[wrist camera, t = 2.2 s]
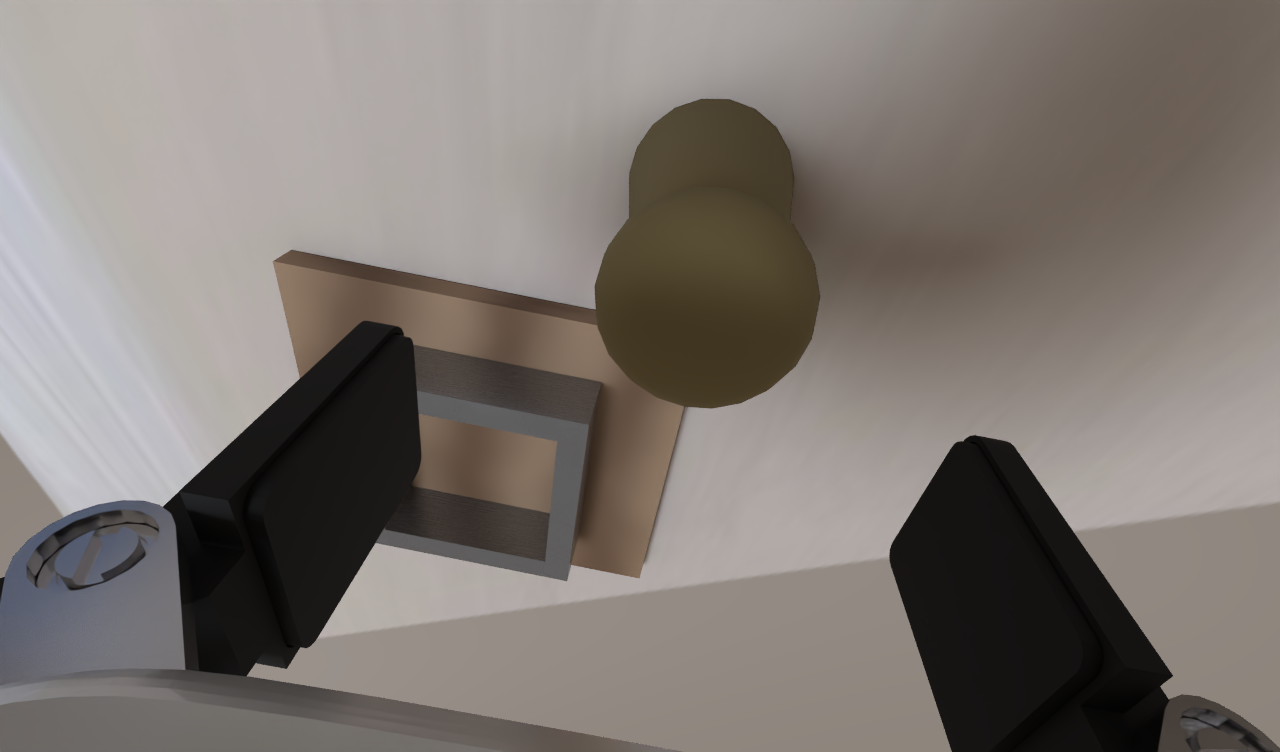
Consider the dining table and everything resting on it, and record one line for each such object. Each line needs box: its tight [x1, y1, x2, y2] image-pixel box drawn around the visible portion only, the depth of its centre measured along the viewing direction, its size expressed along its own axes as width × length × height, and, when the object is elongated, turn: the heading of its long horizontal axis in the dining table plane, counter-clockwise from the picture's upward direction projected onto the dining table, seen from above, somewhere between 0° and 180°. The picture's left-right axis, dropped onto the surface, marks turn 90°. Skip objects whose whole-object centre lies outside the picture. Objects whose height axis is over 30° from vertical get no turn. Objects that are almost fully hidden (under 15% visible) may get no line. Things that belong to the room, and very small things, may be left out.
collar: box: [376, 345, 602, 581], centre depth 27 cm, size 10×10×3 cm
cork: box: [595, 99, 820, 408], centre depth 17 cm, size 6×6×11 cm
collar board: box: [273, 250, 684, 578], centre depth 29 cm, size 18×16×1 cm
